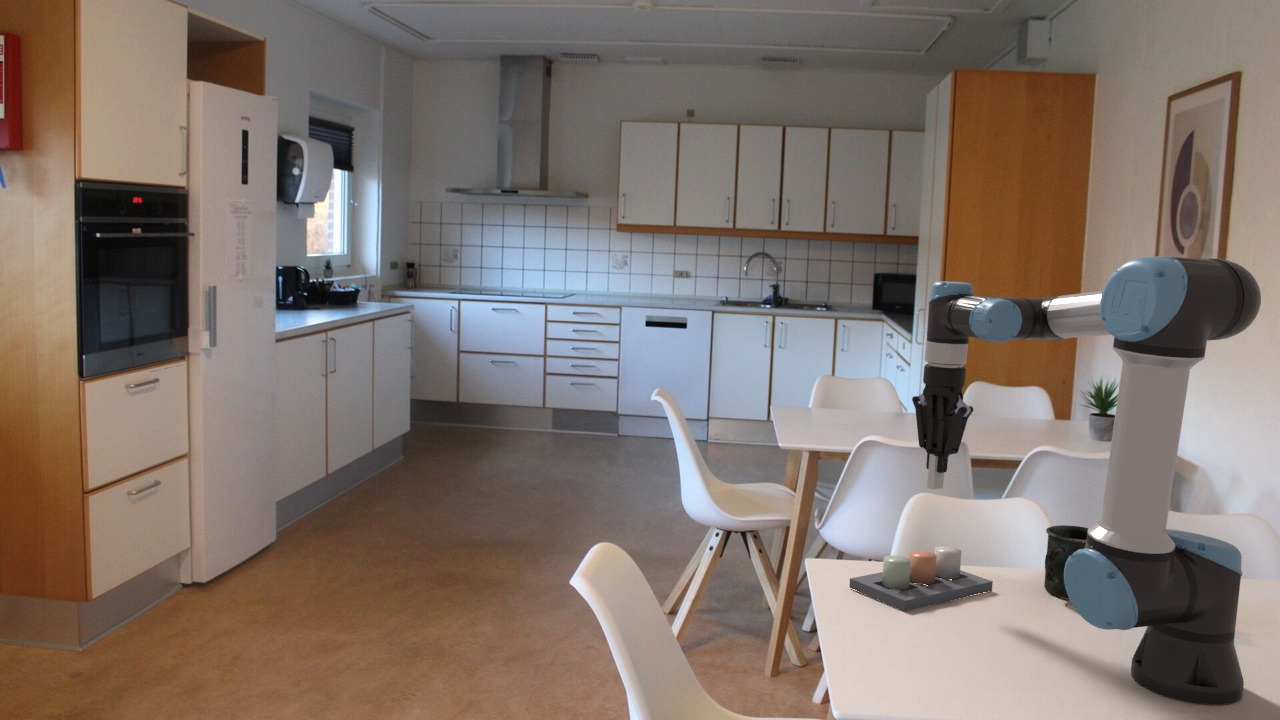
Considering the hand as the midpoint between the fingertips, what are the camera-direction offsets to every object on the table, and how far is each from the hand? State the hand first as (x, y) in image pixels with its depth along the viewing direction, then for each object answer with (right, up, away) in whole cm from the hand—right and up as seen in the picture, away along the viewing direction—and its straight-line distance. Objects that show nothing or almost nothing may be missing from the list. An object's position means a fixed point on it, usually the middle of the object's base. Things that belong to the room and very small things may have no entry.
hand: (934, 487), depth 193 cm
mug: (+26, -21, +3) cm, 34 cm away
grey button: (+4, -18, +7) cm, 20 cm away
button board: (-2, -20, +3) cm, 20 cm away
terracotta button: (-2, -18, +3) cm, 18 cm away
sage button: (-8, -18, -1) cm, 20 cm away
